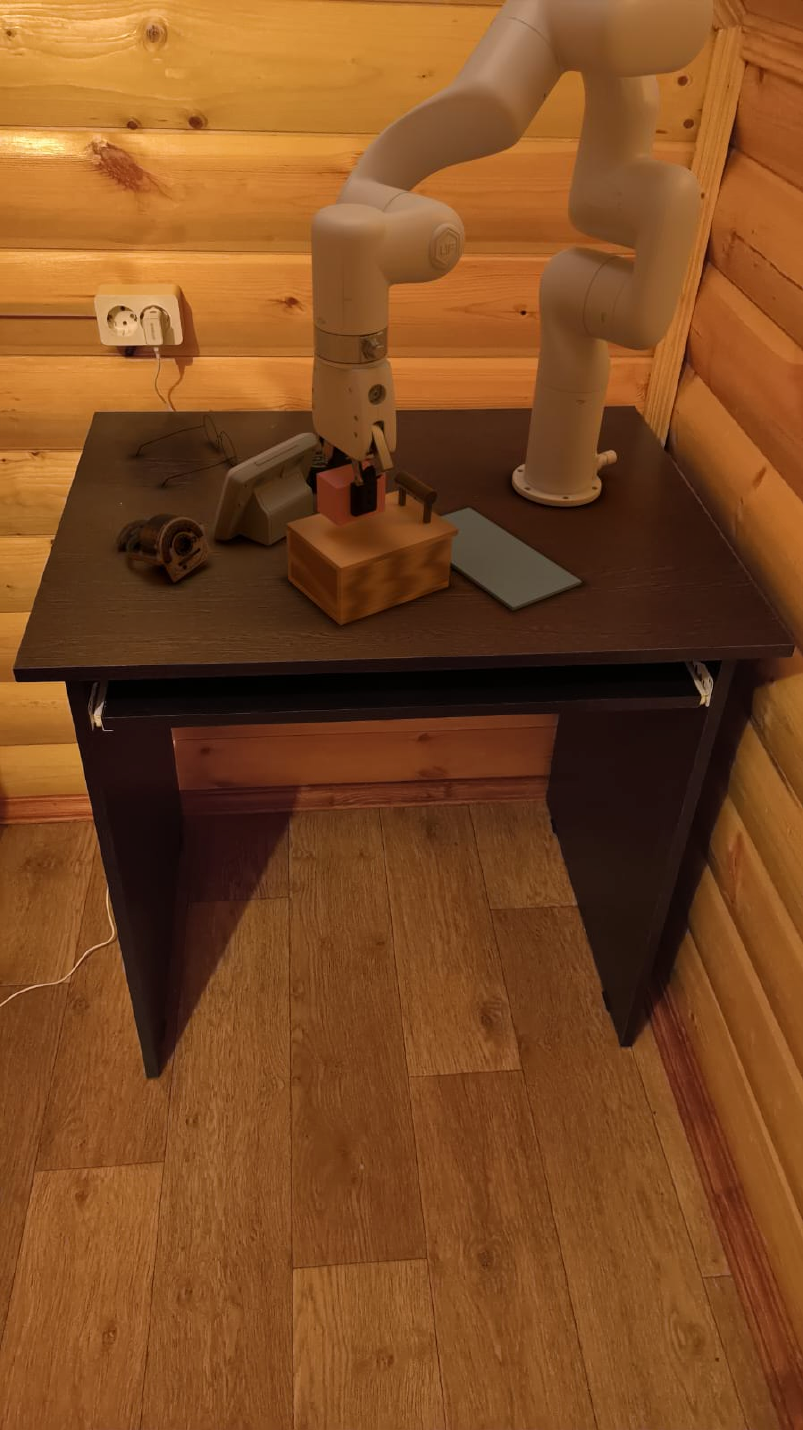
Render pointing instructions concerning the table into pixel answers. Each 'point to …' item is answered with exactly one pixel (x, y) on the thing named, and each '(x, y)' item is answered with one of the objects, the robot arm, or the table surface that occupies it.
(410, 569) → the pencil box
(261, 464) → the digital clock
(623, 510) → the table surface
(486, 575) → the mat
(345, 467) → the eraser
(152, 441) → the eyeglasses
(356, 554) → the lid
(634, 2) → the robot arm
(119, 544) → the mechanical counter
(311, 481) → the tape measure
